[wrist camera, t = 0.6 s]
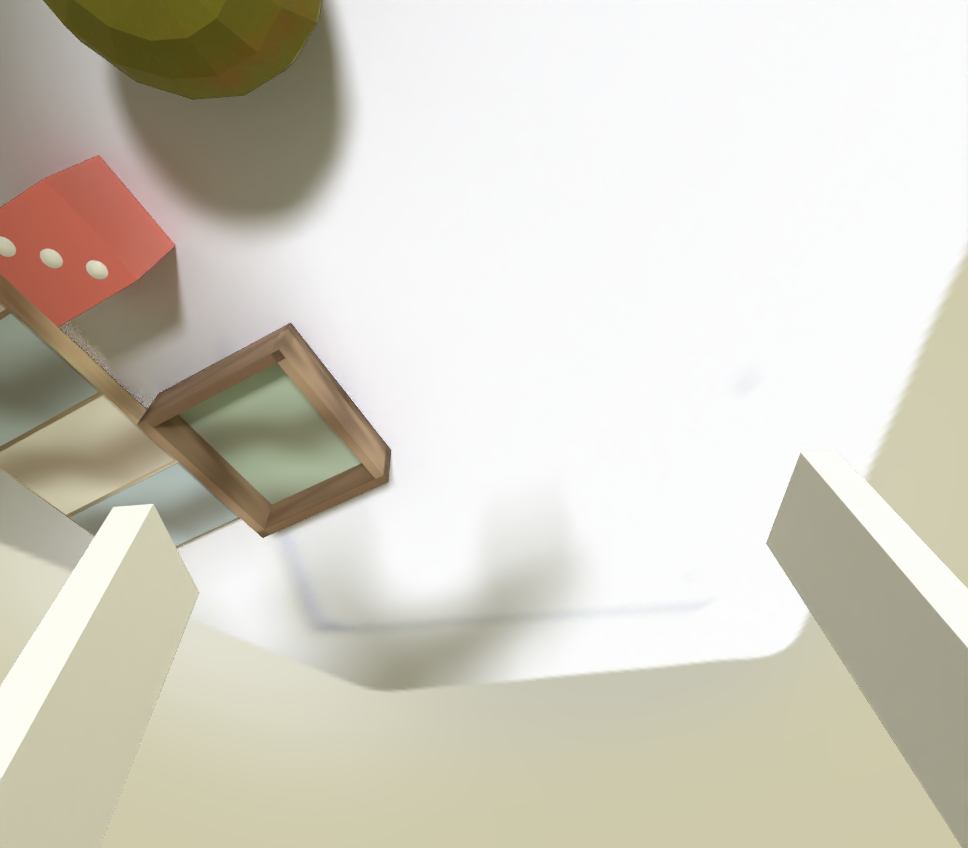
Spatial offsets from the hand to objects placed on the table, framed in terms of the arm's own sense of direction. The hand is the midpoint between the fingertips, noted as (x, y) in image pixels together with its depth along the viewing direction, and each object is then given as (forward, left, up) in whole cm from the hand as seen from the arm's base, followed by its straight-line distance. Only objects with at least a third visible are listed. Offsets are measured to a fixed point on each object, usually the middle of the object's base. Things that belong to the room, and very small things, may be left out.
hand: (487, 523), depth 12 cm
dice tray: (+7, -16, -23) cm, 29 cm away
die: (-8, -16, -23) cm, 29 cm away
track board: (-1, -28, -23) cm, 36 cm away
